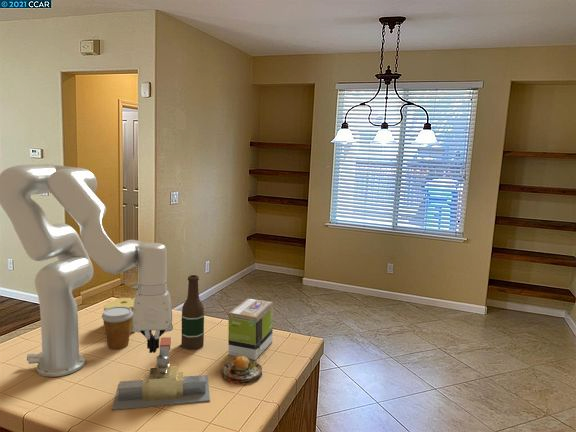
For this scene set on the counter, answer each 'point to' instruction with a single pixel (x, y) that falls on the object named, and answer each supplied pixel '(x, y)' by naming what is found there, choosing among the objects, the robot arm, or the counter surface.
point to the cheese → (122, 302)
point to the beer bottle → (193, 317)
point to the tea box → (250, 328)
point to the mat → (146, 403)
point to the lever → (164, 353)
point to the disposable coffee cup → (117, 326)
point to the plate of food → (242, 371)
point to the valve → (162, 385)
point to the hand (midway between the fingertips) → (153, 350)
